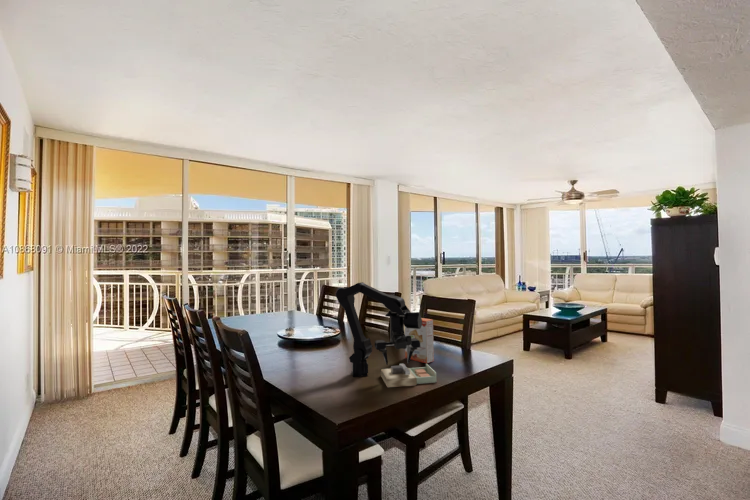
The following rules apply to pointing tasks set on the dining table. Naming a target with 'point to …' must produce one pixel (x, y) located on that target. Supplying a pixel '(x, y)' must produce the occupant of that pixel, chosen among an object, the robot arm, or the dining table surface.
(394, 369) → the scraper
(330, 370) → the dining table surface
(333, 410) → the dining table surface
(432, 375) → the tray
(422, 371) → the tile
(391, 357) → the dining table surface
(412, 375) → the board
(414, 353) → the cracker box
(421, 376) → the tile
